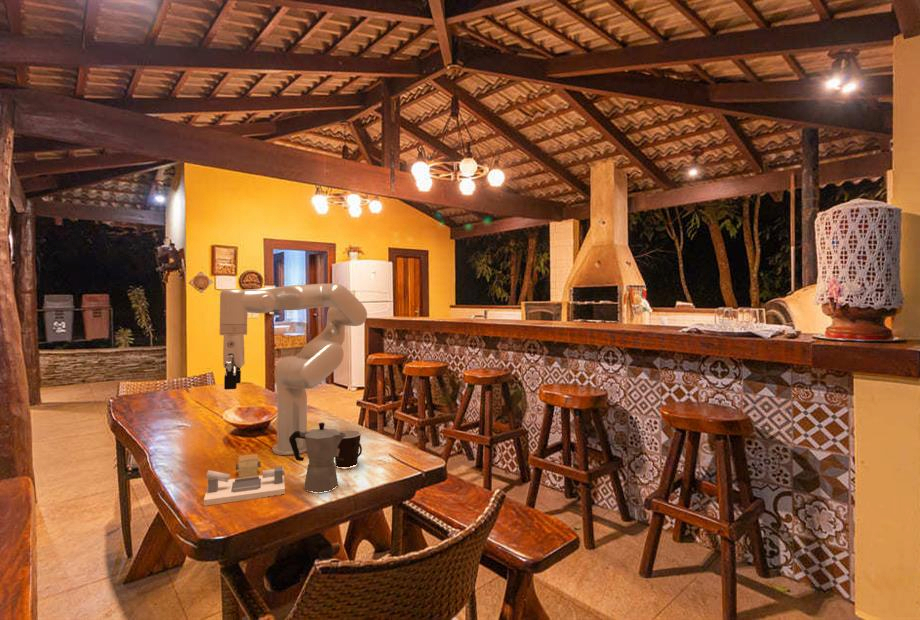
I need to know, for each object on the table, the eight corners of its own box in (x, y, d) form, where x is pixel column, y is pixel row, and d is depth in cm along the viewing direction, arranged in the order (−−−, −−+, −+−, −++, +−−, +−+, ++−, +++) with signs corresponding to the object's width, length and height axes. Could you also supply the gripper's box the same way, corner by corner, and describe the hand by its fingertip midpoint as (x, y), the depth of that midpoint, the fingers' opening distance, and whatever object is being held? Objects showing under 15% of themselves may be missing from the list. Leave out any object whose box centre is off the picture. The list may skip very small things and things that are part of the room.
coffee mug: (331, 462, 146) (331, 431, 146) (358, 459, 150) (358, 428, 149) (334, 475, 136) (334, 442, 135) (364, 472, 139) (364, 439, 138)
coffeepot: (348, 480, 133) (349, 418, 132) (341, 494, 123) (342, 427, 123) (294, 480, 132) (294, 418, 131) (283, 494, 122) (283, 427, 122)
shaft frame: (283, 477, 134) (283, 454, 133) (284, 494, 123) (285, 469, 122) (208, 487, 126) (208, 462, 126) (202, 506, 115) (202, 479, 115)
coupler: (260, 469, 140) (260, 453, 140) (260, 475, 136) (260, 458, 135) (236, 472, 137) (236, 456, 137) (235, 478, 133) (235, 461, 133)
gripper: (243, 332, 133) (242, 391, 133) (250, 328, 149) (249, 380, 149) (214, 332, 130) (213, 392, 130) (224, 328, 146) (223, 381, 147)
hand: (232, 386), depth 140 cm, fingers open, 9 cm apart
